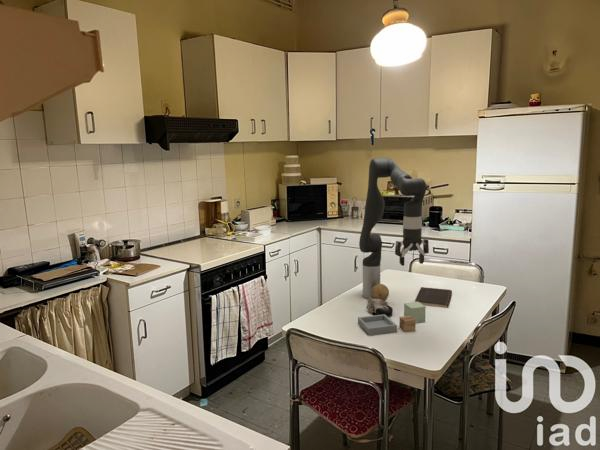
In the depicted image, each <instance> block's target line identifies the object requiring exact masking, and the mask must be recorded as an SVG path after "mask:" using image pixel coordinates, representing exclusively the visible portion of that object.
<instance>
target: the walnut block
mask: <svg viewBox="0 0 600 450" xmlns="http://www.w3.org/2000/svg"><path fill="white" fill-rule="evenodd" d="M398 322H399V328H400V330H402V332H404V333H407V332H414V331H416V322H415V319H414V318H413V317H411V316H404V315H403V316H399V321H398Z"/></svg>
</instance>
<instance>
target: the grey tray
mask: <svg viewBox="0 0 600 450" xmlns="http://www.w3.org/2000/svg"><path fill="white" fill-rule="evenodd" d="M357 325H358V326H359V327H360V328H361V329H362V330H363V331H364V332H365V333H366V334H367V335H368V336H375V335H381V334H382V335H383V334H390V333H397V332H398V324H396V323H395V322H394V321H393V320H392V318H390V317H387V316H386V315H385V314H383V315H378V314H377V315H376V314H375V315H367V316H360V317H357Z"/></svg>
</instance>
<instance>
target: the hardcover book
mask: <svg viewBox="0 0 600 450" xmlns="http://www.w3.org/2000/svg"><path fill="white" fill-rule="evenodd" d="M452 294H453V291H452V289H445V288H436V287H435V288H434V287H425V286H423V287H421V286H420V289H419V291H418V294H417V295H416V298H415V300H414V302H420V303H421V304H422V305H424V306H425V307H426V306H427V307H428V306H429V307H436V308H445V309H446V308H447V309H449V305H450V301H451V298H452Z"/></svg>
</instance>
